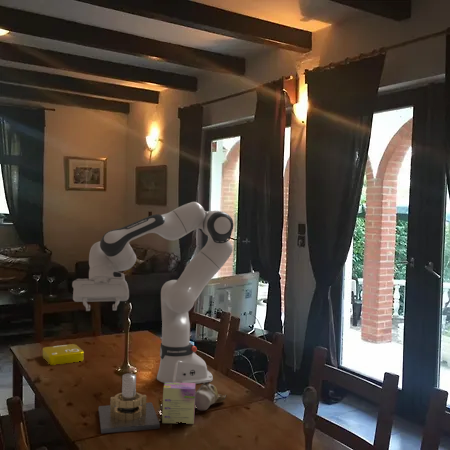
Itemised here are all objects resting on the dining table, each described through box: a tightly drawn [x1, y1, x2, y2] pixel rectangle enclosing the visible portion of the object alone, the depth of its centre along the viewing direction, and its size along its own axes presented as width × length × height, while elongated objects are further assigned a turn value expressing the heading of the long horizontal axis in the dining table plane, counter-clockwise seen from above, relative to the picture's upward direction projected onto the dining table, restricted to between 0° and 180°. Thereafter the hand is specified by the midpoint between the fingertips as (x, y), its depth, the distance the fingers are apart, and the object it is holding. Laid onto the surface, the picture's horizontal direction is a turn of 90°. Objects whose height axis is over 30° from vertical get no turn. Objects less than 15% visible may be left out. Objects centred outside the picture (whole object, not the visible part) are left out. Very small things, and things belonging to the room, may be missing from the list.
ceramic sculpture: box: [195, 382, 228, 411], centre depth 189 cm, size 11×9×15 cm
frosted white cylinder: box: [121, 372, 137, 413], centre depth 174 cm, size 5×5×13 cm
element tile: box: [42, 343, 85, 366], centre depth 236 cm, size 15×15×5 cm
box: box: [161, 382, 196, 425], centre depth 175 cm, size 10×6×12 cm, turn 92°
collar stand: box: [98, 391, 161, 434], centre depth 174 cm, size 18×18×8 cm
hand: (101, 309), depth 193 cm, fingers open, 8 cm apart
